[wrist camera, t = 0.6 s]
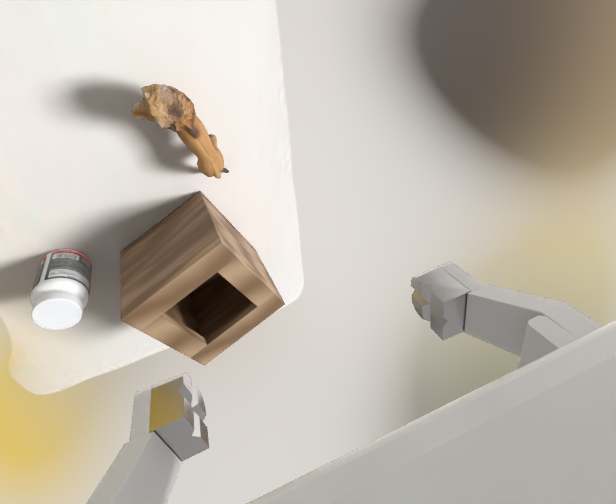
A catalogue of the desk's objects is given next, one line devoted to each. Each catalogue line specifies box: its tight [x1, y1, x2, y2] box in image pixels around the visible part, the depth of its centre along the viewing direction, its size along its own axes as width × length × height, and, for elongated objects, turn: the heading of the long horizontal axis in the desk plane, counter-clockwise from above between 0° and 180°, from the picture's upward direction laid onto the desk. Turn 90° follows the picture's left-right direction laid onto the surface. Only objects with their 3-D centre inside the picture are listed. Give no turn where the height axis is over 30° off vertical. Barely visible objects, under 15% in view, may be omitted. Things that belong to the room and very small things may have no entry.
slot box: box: [121, 191, 285, 365], centre depth 47 cm, size 14×14×14 cm
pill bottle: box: [30, 249, 92, 330], centre depth 42 cm, size 6×6×10 cm
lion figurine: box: [132, 84, 229, 178], centre depth 39 cm, size 15×5×9 cm, turn 34°
